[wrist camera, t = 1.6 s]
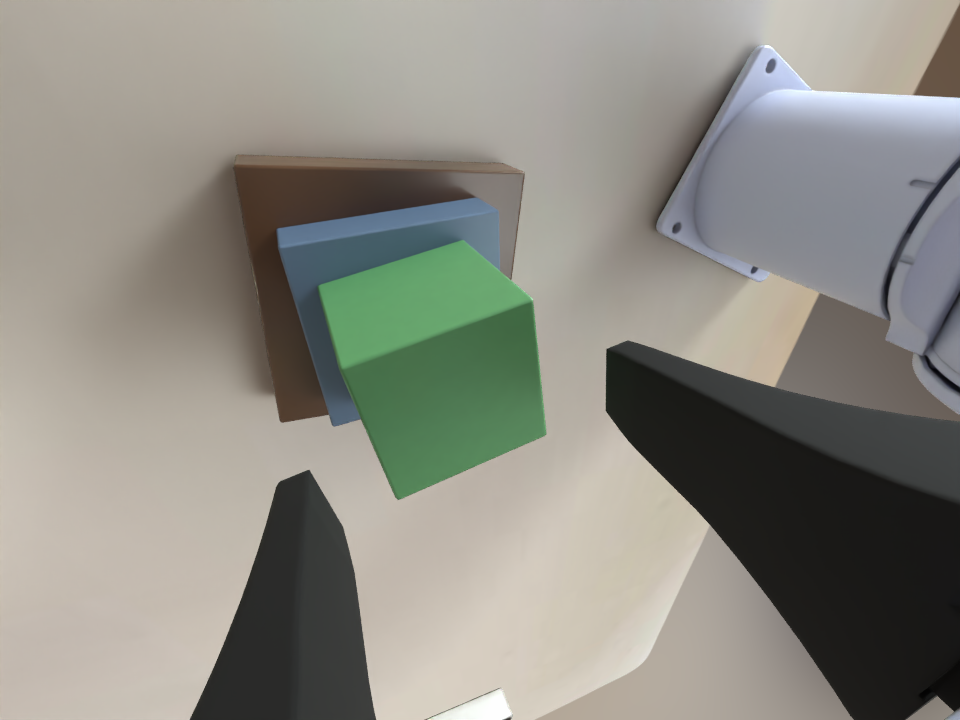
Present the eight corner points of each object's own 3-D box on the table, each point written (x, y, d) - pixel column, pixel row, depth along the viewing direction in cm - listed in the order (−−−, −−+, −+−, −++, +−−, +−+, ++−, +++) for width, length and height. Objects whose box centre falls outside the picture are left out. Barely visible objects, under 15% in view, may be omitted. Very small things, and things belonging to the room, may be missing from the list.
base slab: (503, 162, 17) (525, 171, 16) (482, 365, 22) (498, 386, 20) (235, 154, 14) (232, 164, 12) (278, 396, 18) (280, 424, 17)
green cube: (463, 238, 14) (534, 298, 10) (485, 356, 17) (547, 435, 13) (315, 285, 13) (338, 368, 9) (365, 402, 16) (397, 502, 12)
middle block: (477, 196, 15) (499, 209, 14) (484, 355, 19) (503, 379, 18) (275, 228, 13) (277, 246, 12) (326, 398, 17) (332, 428, 16)
